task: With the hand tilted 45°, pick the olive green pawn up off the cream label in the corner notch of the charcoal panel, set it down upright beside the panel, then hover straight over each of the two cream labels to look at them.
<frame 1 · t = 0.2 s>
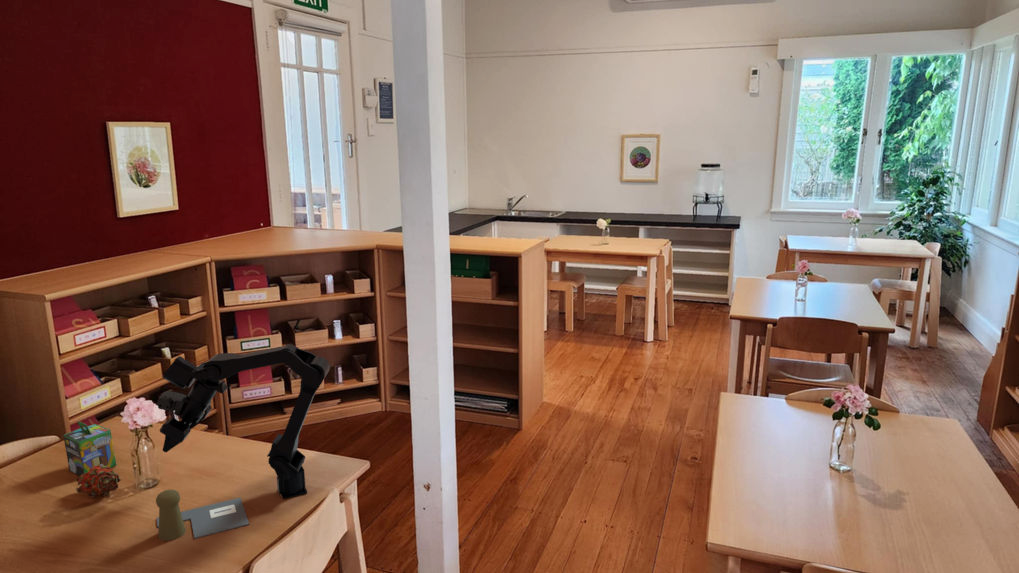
hand: (172, 443, 178), 15 cm above the table, tool tilted 35°, fingers open, 9 cm apart
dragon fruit: (99, 494, 182), on the table
label panel: (202, 521, 169), on the table
olive green pawn: (172, 534, 164), on the table, touching label panel
chalk box: (92, 469, 195), on the table
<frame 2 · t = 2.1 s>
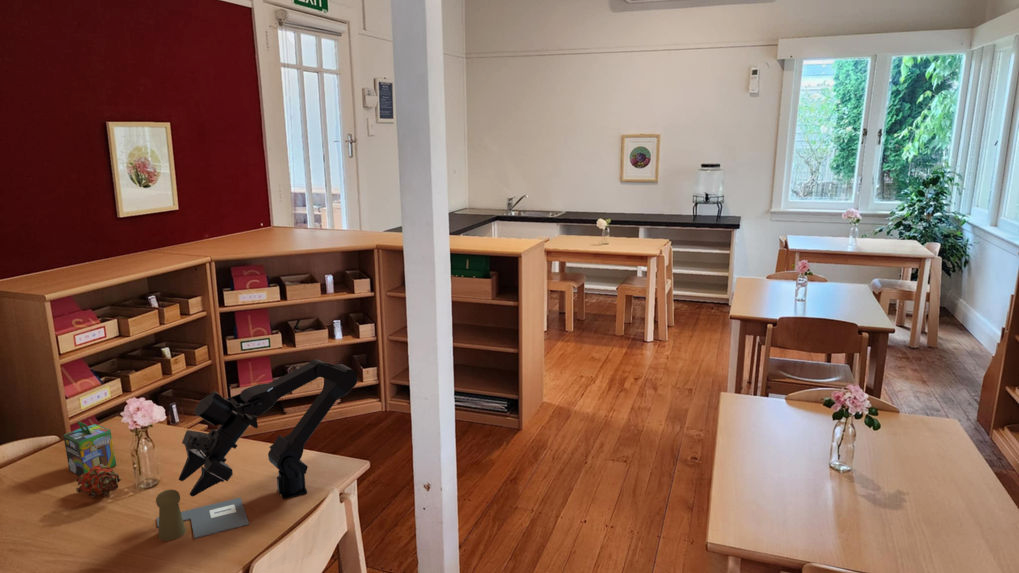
hand: (185, 487, 164), 11 cm above the table, tool tilted 45°, fingers open, 9 cm apart
nothing on the table moved.
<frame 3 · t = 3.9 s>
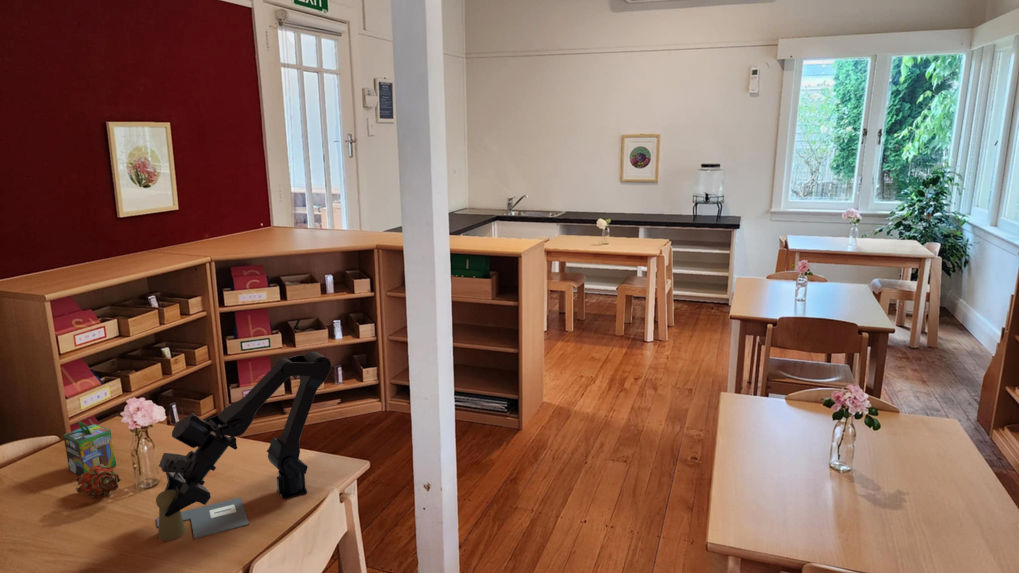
hand: (163, 511, 162), 7 cm above the table, tool tilted 45°, fingers closed on olive green pawn, 5 cm apart
olive green pawn: (172, 534, 164), on the table, touching gripper, label panel
everything else where it was.
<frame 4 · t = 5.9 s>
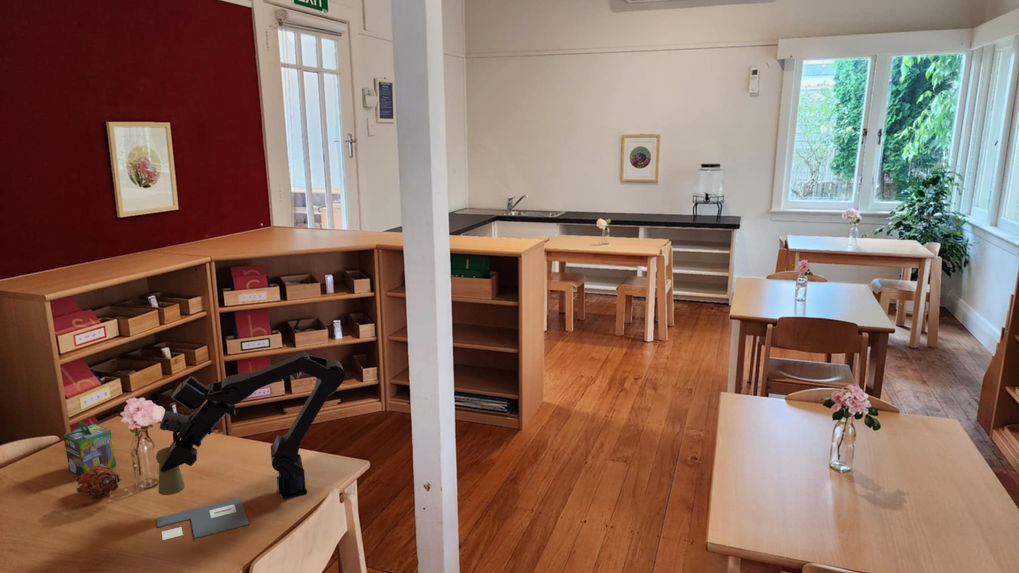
hand: (162, 466, 169), 13 cm above the table, tool tilted 45°, fingers closed on olive green pawn, 5 cm apart
olive green pawn: (171, 489, 171), point 7 cm above the table, touching gripper
everything else where it was.
when the fingers open (8 cm above the table, at t = 7.8 s): olive green pawn drops 1 cm, on the table.
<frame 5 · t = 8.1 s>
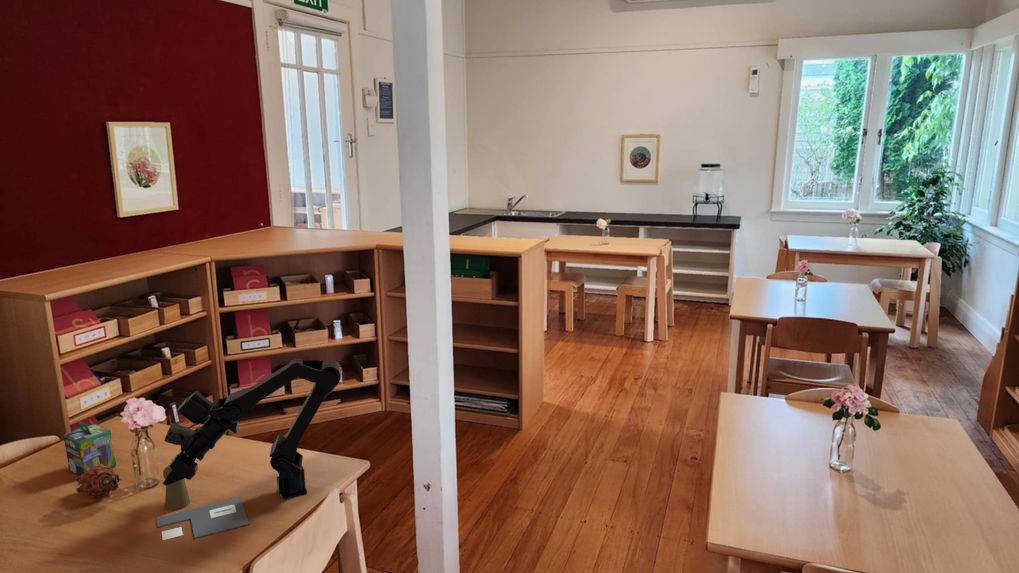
hand: (168, 476, 175), 8 cm above the table, tool tilted 45°, fingers open, 7 cm apart
olive green pawn: (177, 505, 177), on the table
everything else where it was.
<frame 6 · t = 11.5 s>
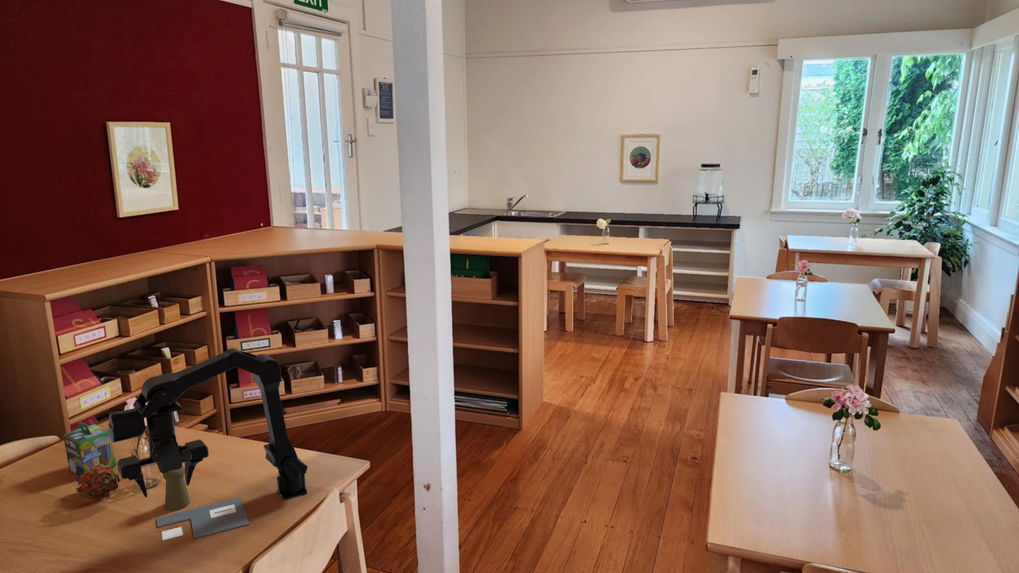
hand: (167, 490, 162), 11 cm above the table, tool pointing down, fingers open, 9 cm apart
nothing on the table moved.
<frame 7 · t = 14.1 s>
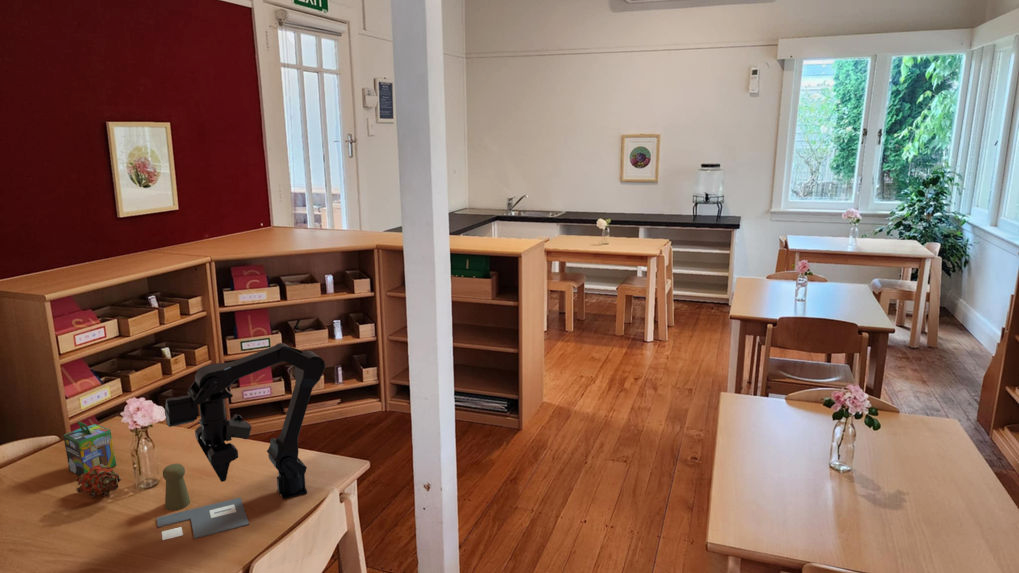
hand: (218, 473, 171), 11 cm above the table, tool pointing down, fingers open, 9 cm apart
nothing on the table moved.
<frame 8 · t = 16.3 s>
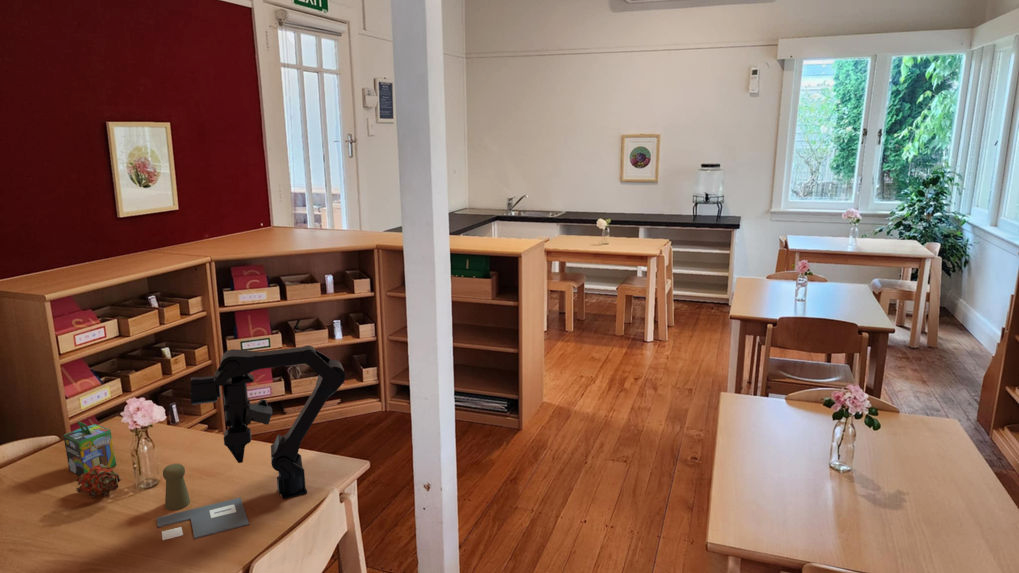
hand: (240, 454, 176), 13 cm above the table, tool pointing down, fingers open, 9 cm apart
nothing on the table moved.
at the end: olive green pawn inside the target area (0.6 cm from its centre), on the table; olive green pawn tilted 0°; the gripper is holding nothing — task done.
